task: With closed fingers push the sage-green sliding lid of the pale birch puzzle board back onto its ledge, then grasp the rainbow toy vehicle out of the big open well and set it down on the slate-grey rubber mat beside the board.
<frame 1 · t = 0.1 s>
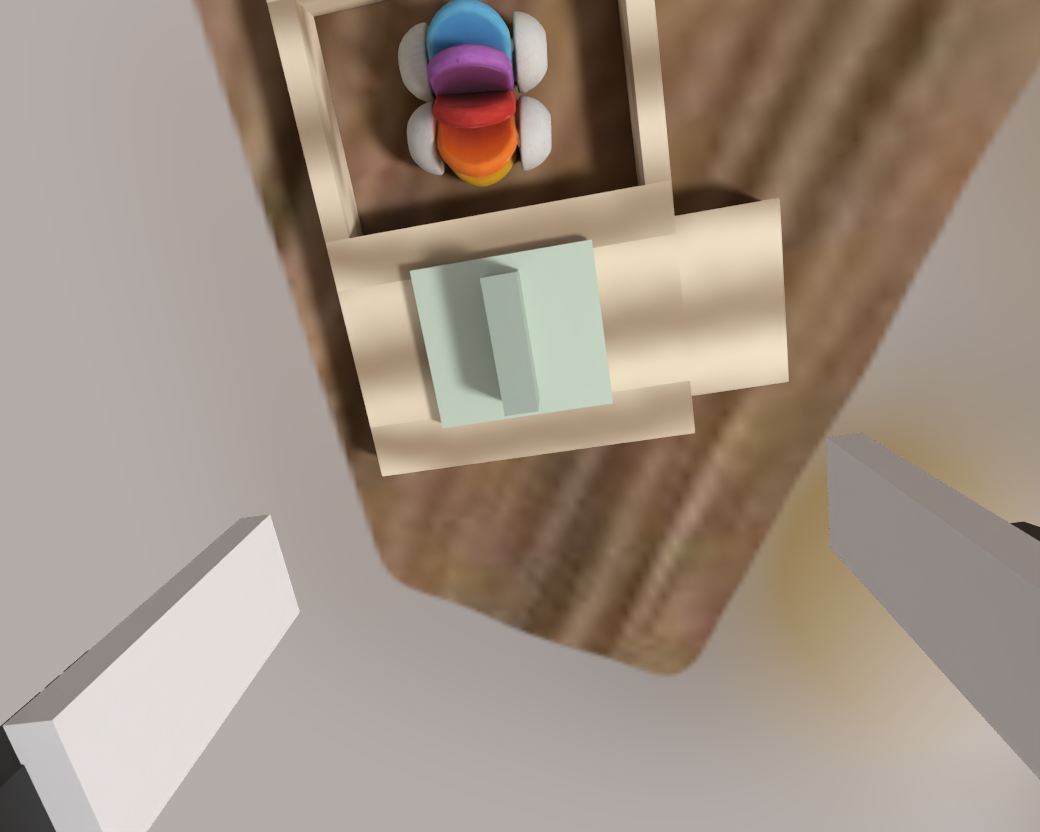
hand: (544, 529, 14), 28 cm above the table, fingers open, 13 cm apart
lid: (512, 341, 36), point 5 cm above the table, slide at 0.0 cm
rainbow toy vehicle: (481, 106, 37), resting in board
board: (499, 222, 39), on the table
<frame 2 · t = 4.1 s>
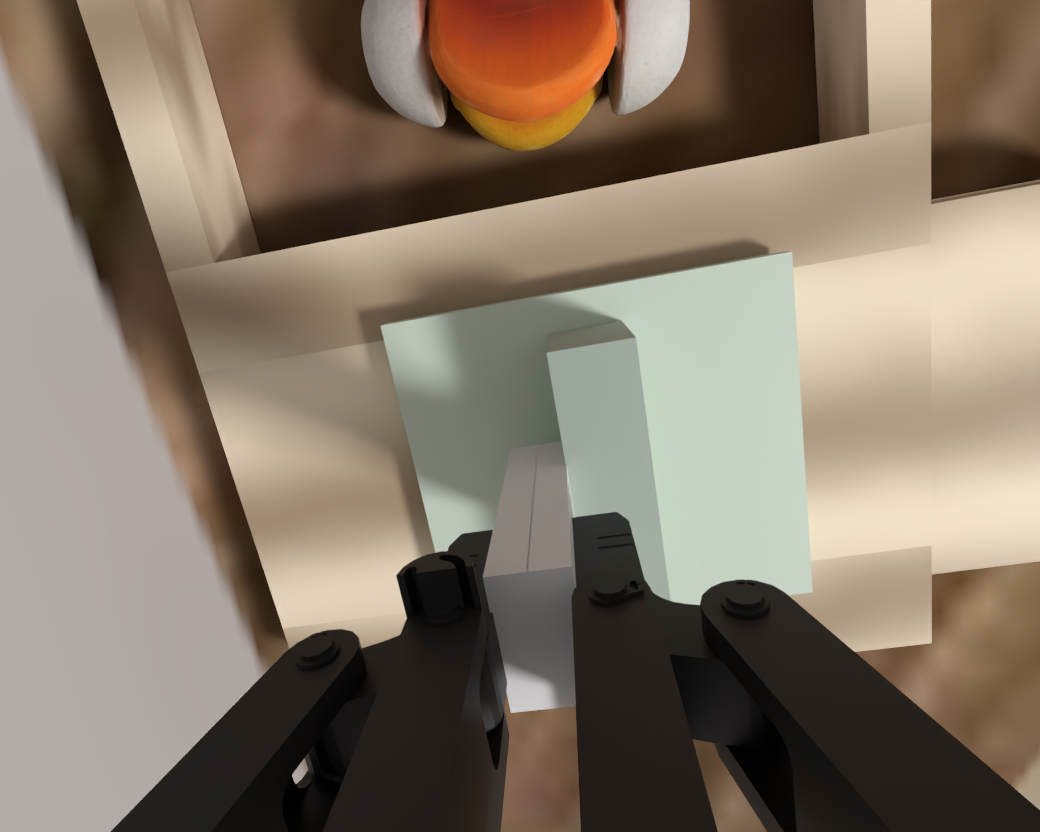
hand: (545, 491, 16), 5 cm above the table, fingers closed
lid: (609, 480, 16), point 5 cm above the table, slide at 1.1 cm, touching gripper
board: (530, 224, 19), on the table
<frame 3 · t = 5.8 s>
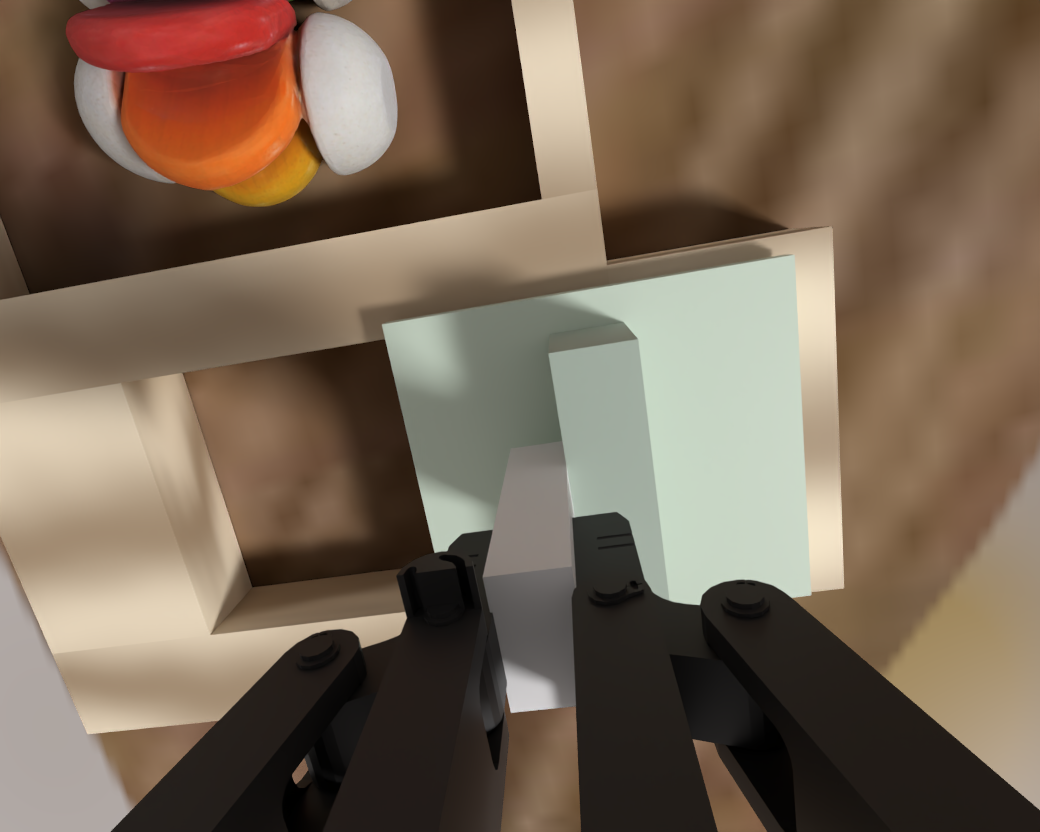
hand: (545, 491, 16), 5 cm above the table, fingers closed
lid: (609, 481, 16), point 5 cm above the table, slide at 9.7 cm, touching gripper
rainbow toy vehicle: (266, 45, 19), resting in board
board: (280, 270, 20), on the table
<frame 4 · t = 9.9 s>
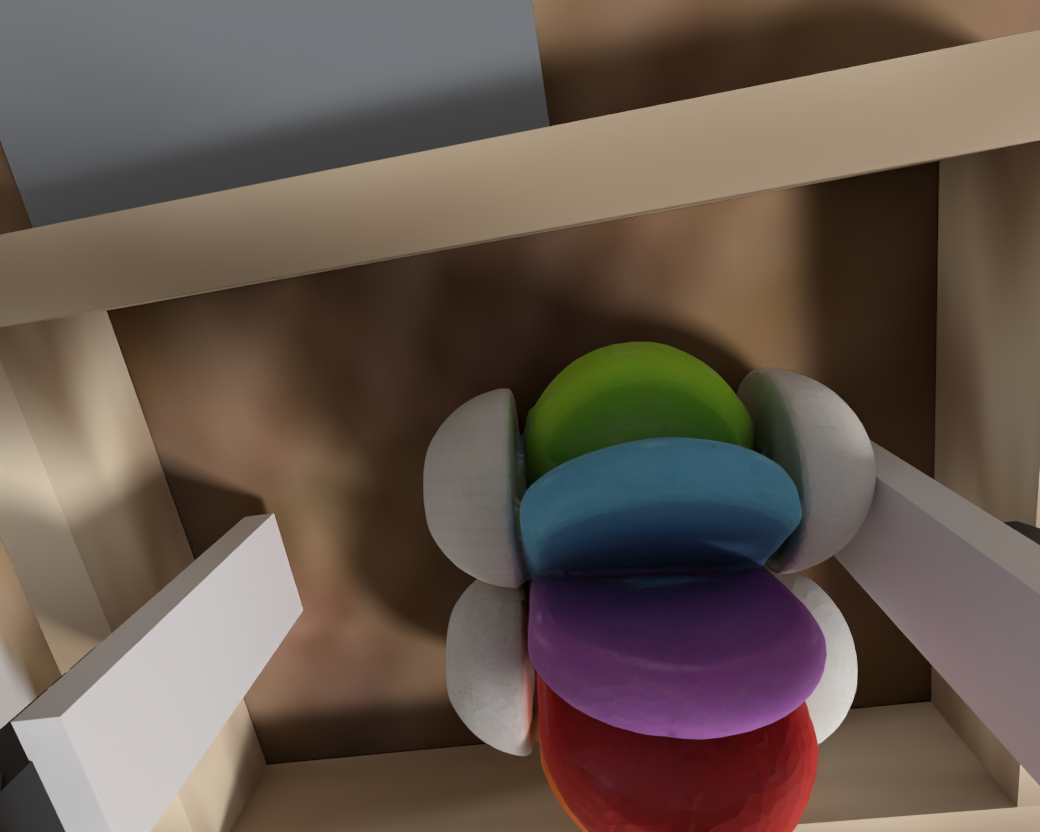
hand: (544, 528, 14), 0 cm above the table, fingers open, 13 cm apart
rainbow toy vehicle: (627, 521, 15), resting in board, touching gripper
board: (583, 749, 16), on the table
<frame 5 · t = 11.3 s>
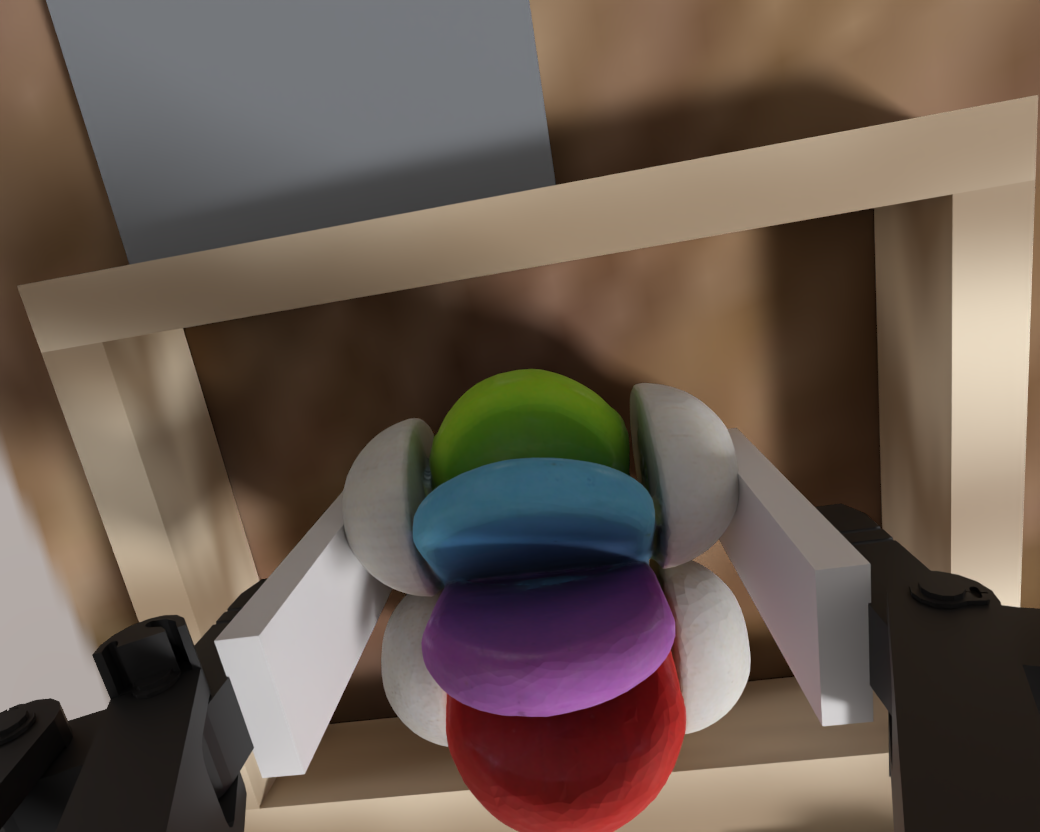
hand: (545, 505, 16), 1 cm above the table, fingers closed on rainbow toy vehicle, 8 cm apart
rainbow toy vehicle: (550, 527, 16), point 1 cm above the table, touching gripper
board: (583, 712, 19), on the table
mat: (296, 21, 14), on the table
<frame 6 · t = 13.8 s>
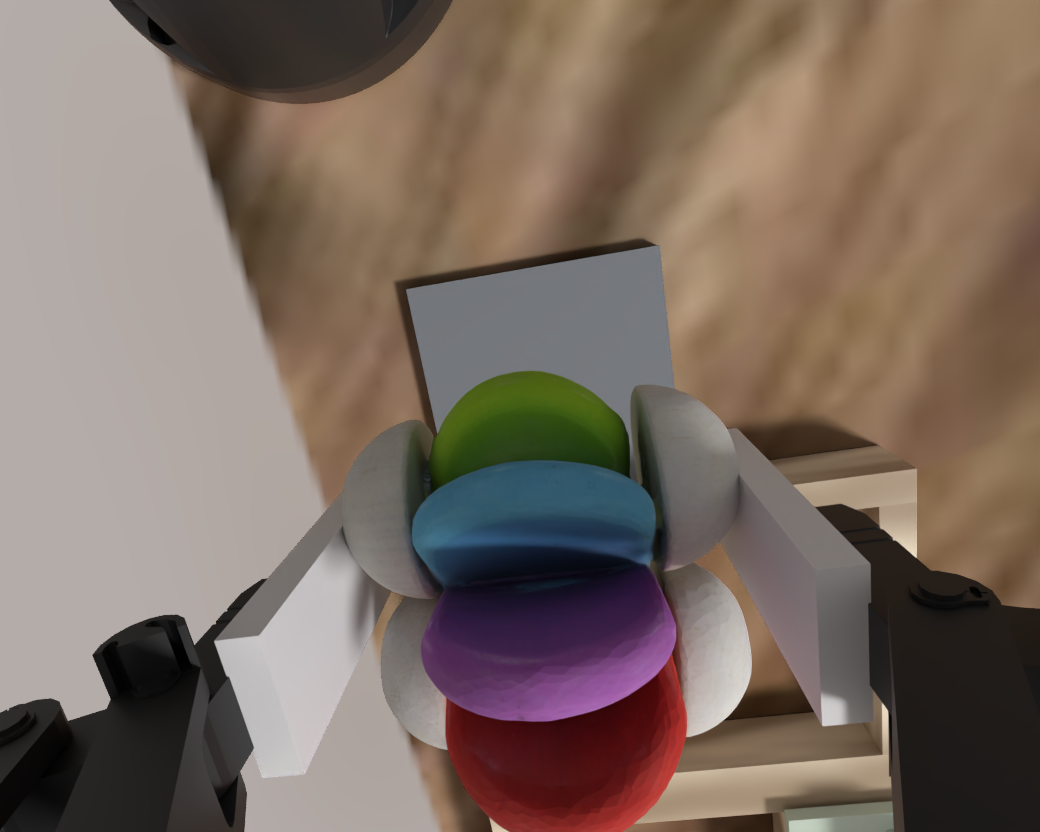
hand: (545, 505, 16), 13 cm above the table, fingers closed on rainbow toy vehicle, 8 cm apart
rainbow toy vehicle: (551, 529, 16), point 12 cm above the table, touching gripper
board: (680, 732, 33), on the table
mat: (550, 388, 28), on the table
when the fingers open (2 cm above the table, at t = 16.1 s): rainbow toy vehicle stays where it is, resting on board, mat.
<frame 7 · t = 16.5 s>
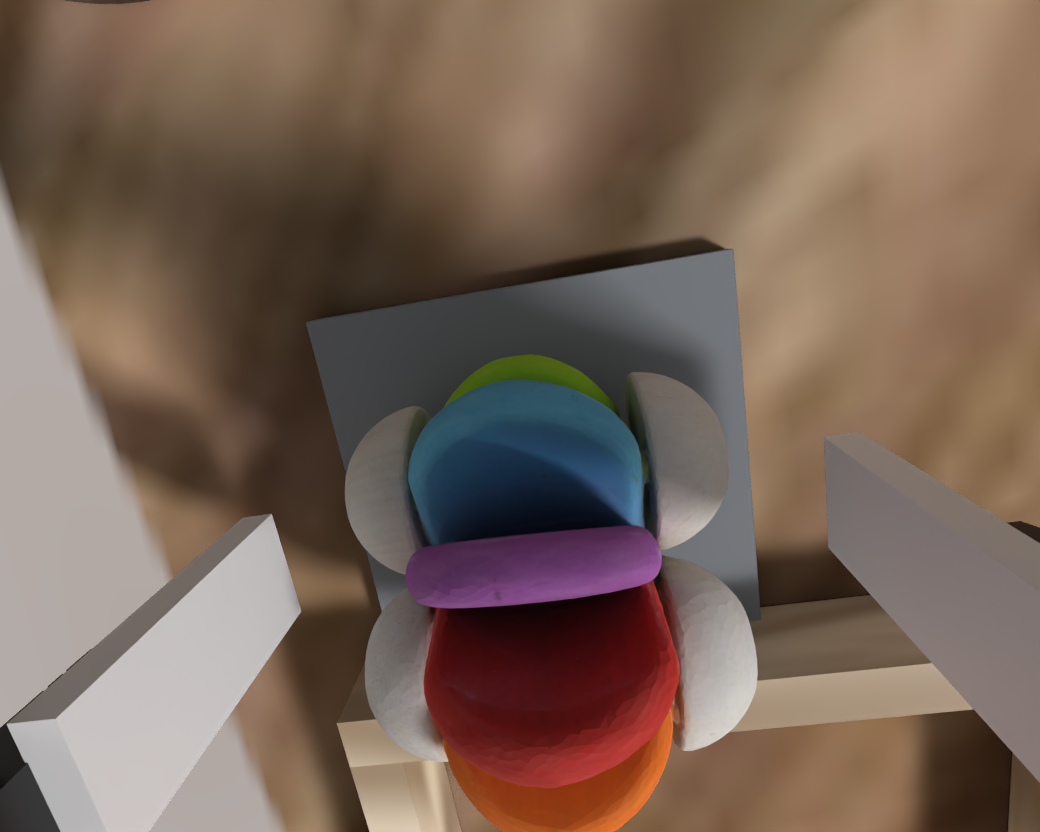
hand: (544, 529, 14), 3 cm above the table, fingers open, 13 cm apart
rainbow toy vehicle: (550, 547, 16), point 2 cm above the table, touching board, mat
mat: (546, 478, 17), on the table
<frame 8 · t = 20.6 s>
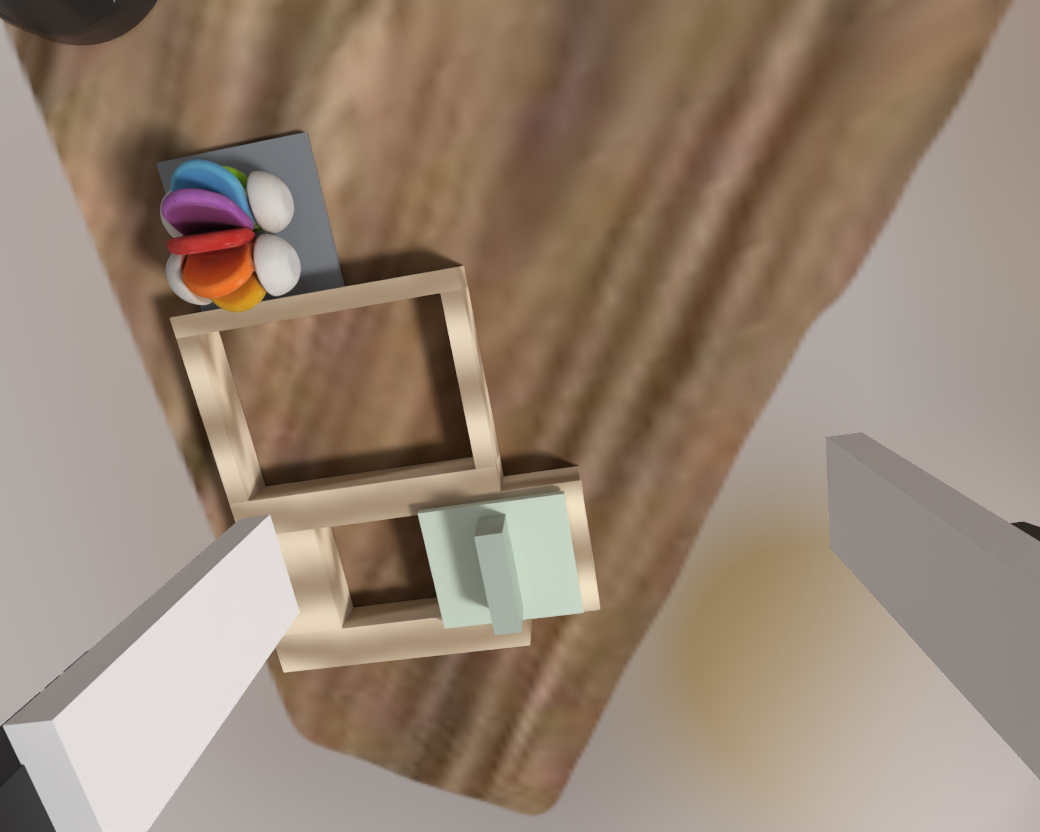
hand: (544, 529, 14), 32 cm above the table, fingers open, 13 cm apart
lid: (500, 572, 45), point 5 cm above the table, slide at 9.7 cm
rainbow toy vehicle: (249, 250, 43), point 2 cm above the table, touching board, mat
board: (372, 477, 49), on the table
mat: (255, 229, 44), on the table
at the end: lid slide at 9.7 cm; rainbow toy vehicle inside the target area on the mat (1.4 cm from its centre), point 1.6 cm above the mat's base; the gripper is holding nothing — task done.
